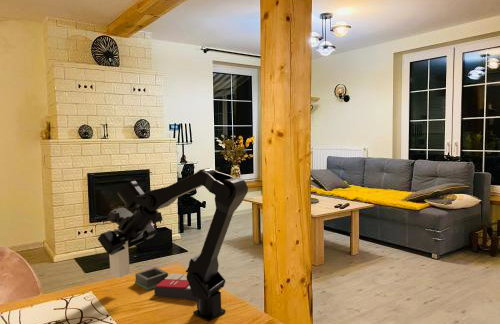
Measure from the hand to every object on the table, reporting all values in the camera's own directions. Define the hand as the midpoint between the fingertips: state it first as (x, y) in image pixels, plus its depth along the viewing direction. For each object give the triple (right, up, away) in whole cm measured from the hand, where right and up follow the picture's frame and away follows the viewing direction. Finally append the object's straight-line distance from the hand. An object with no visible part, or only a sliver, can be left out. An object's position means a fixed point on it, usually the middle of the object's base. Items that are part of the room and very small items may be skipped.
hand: (115, 251), depth 116 cm
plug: (+1, -7, 0) cm, 7 cm away
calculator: (+22, -13, 0) cm, 25 cm away
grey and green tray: (+10, -12, +7) cm, 17 cm away
